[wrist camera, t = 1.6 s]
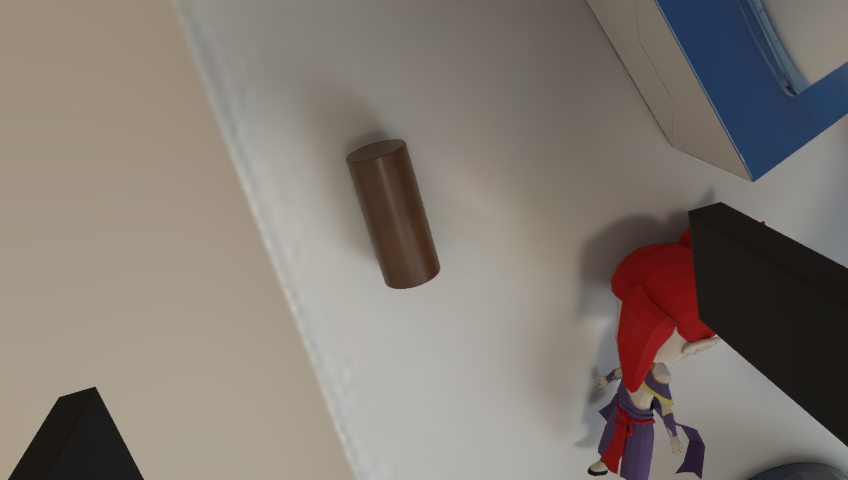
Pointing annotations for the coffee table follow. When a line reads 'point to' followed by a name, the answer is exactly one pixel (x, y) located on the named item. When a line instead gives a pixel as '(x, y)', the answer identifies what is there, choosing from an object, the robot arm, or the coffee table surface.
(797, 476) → the bowl
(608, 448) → the figurine
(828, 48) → the milk carton
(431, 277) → the brown cylinder
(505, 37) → the coffee table surface
